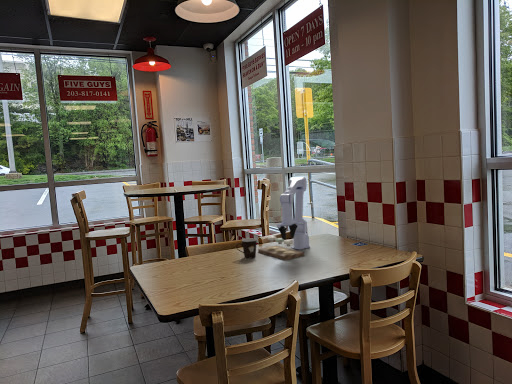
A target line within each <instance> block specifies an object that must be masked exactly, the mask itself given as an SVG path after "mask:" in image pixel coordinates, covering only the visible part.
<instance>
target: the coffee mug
mask: <svg viewBox="0 0 512 384" xmlns="http://www.w3.org/2000/svg"><path fill="white" fill-rule="evenodd" d="M257 241H258V240H257V238H250V237H249V238H244V239H242V240H241V242H239V243H237V244H236V246H235V248H236V250H238V251H239V252H241V253H242V254H243V255H244V258H245V259H254V258H256V257H257V256H256V255H257ZM238 245H241V246H242V249H243V250H241V249H239V248H238Z"/></svg>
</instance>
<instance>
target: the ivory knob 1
mask: <svg viewBox="0 0 512 384" xmlns="http://www.w3.org/2000/svg"><path fill="white" fill-rule="evenodd" d="M276 239H277V236H273V235H271V236H267V240H268V241H269V242H270V243H274V241H276Z"/></svg>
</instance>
